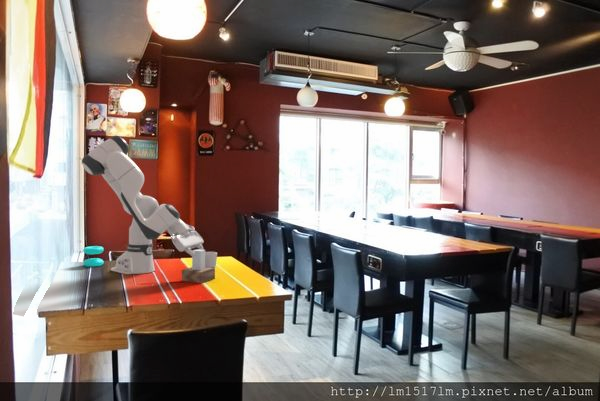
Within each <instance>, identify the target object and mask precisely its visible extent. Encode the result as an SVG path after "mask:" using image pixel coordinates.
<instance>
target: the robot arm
mask: <svg viewBox="0 0 600 401" xmlns="http://www.w3.org/2000/svg"><path fill="white" fill-rule="evenodd" d="M129 152H130V147H129V144H128V142H127V141H126V140H125V139H124V138H122V136H119V135H114V136H111V137H109V138H108V139H106V140H104V141H103V142H101V143H99V144H98V145H97V146H96V147H94V149H91V151H90V152H88V154H85V155H84V156H83V158H82V159H81V164H82V167H83V169H84V170H85V171H86V172H87V173H88V174H89V175H92V176H94V177H95V176H100V175H101V177H102V178H103V180H105V182H106V183H107V185H109V187H111V189H112V190H113V192H114V193H115V194H116V196H117V197H118V199H119V201H120V203H121V204H122V208H123V209H124V211H125V212H126V213H127V214H129V216H130V215H131V216H132V222H131V225H130V226H129V227H128V244H125V245H124V247H125V248H126V250H125V252H123V253H122V254H121V255H120V256H118V257H117V258H116V261H115V266H113V267H111V268H110V271H112V272H115V273H120V274H125V275H136V274H138V275H139V274H147V273H152V272H155V271H156V269H155V268H156V267H155V263H154V256H153V251H154V248H153V247H154V245H153V244H154V243H153V241H154V240H158V238H159V237H161V236H162V234H163V233H164V232H166V231H167V233H168V234H169V235H170V239H171V242H172V243H173V245H174V246H175V248H176V249H177V250H178V251H179V252H180V253H181V252H185V253H187V254H188V255H190V256H191V257H193V256H195V255H196V253H195V252H193V250H192V249H195V248H197V249H200V250H205V249H204V246H203V244H204V242H205V241H204V239H203V237H202V236H201V235H200V234H199V233H198V232H197V230H195V227H194V226H192V225H189V224H188V223H185V222H184V221H183V220H182V219H181V218H180V217H181V213H179V211H178V210H177V209H176V207H175V206H174V205H173V204H166V203H162V204H160V205H159V202H158V200H157V199H155V198H154V197H152V196H150V195H145V194H142V192H141V189H142V188H143V186H144V183H145V175H144V172H142V170H141V168H140V167H139V166H138V165H137V164H136V163H135V161H134V160H133V159H132V158H130V157H129V156H128V153H129Z"/></svg>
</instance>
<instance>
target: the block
mask: <svg viewBox="0 0 600 401" xmlns="http://www.w3.org/2000/svg"><path fill="white" fill-rule="evenodd" d="M192 251H193V252H195V253H196V255H195V256H193V257H192V256H191V257H192V258H191V259H192V260H191V261H192V262H191V264H192V270H203V269H205V252H206V249H204V250H200V249H199V248H197V249H193V250H192Z"/></svg>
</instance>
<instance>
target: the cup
mask: <svg viewBox="0 0 600 401" xmlns="http://www.w3.org/2000/svg"><path fill="white" fill-rule="evenodd" d="M217 260H218V252H216V251H205V267H209V268H216V266H217Z"/></svg>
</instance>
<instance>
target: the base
mask: <svg viewBox="0 0 600 401" xmlns="http://www.w3.org/2000/svg"><path fill="white" fill-rule="evenodd" d="M215 279H216V267H214V268H209V267H205V269H203V270H192V267H191V266H190V267H188V268H184V269H181V281H183V282H189V283H198V284H203V283H206V282H209V281H211V280H215Z"/></svg>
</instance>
